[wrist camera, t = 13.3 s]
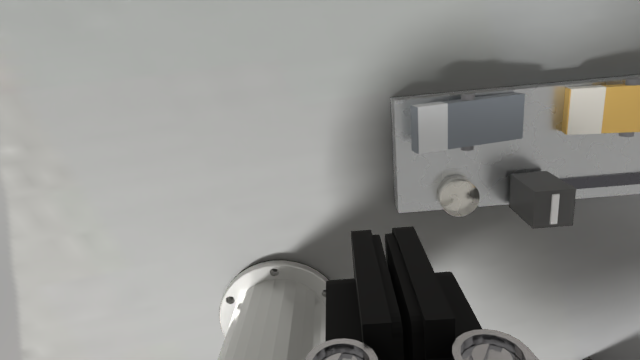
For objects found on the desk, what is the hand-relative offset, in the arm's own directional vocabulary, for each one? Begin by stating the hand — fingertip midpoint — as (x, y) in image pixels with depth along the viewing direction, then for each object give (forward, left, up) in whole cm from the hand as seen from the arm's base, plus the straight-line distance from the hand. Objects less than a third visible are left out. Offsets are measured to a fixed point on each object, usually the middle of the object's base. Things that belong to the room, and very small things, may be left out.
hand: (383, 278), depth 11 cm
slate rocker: (-1, -9, -24) cm, 25 cm away
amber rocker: (-1, -22, -24) cm, 32 cm away
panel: (-4, -16, -27) cm, 32 cm away
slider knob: (-8, -15, -25) cm, 30 cm away
